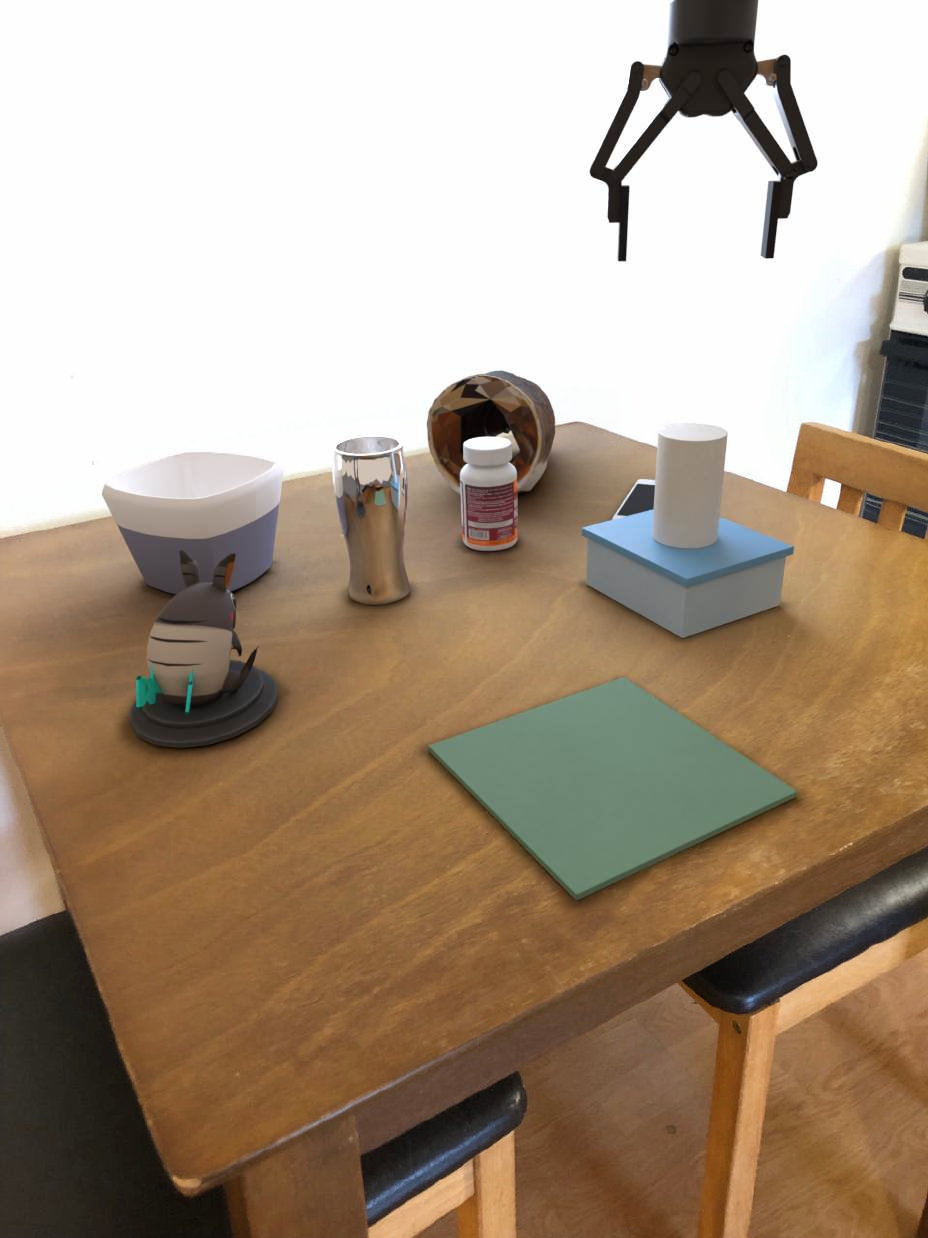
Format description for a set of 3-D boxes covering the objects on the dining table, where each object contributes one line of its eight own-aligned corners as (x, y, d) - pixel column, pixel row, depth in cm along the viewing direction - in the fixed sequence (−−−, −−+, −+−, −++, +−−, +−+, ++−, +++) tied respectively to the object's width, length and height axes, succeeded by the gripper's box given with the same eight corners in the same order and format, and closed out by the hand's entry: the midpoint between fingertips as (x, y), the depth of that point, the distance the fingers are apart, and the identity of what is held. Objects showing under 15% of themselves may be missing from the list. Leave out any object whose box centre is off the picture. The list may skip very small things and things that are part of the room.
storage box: (786, 606, 87) (794, 546, 84) (682, 641, 81) (687, 578, 79) (678, 555, 99) (682, 501, 96) (580, 583, 93) (581, 527, 90)
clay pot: (573, 363, 131) (538, 364, 108) (581, 472, 135) (550, 496, 112) (472, 375, 136) (418, 378, 112) (482, 480, 139) (432, 505, 116)
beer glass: (360, 575, 97) (347, 432, 90) (423, 581, 95) (415, 436, 88) (333, 603, 91) (317, 453, 84) (400, 610, 89) (389, 457, 82)
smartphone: (695, 489, 117) (695, 482, 117) (673, 532, 104) (674, 524, 104) (638, 485, 119) (638, 477, 119) (610, 526, 107) (611, 518, 106)
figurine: (100, 742, 70) (66, 601, 65) (179, 665, 81) (154, 538, 75) (239, 757, 68) (214, 612, 63) (301, 676, 78) (285, 546, 73)
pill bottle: (527, 546, 102) (527, 445, 97) (476, 556, 100) (474, 454, 95) (502, 528, 107) (500, 431, 102) (453, 538, 105) (449, 440, 100)
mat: (796, 797, 62) (797, 791, 61) (576, 901, 54) (576, 894, 54) (623, 681, 76) (623, 676, 75) (428, 751, 68) (428, 745, 68)
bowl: (201, 539, 107) (185, 445, 102) (312, 559, 101) (301, 459, 96) (101, 591, 95) (77, 487, 90) (220, 617, 89) (202, 506, 84)
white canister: (731, 539, 86) (742, 433, 82) (682, 553, 84) (690, 444, 79) (686, 520, 91) (694, 419, 87) (638, 533, 88) (644, 429, 84)
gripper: (854, -9, 82) (820, 251, 91) (567, 6, 84) (563, 256, 94) (878, -22, 75) (838, 259, 84) (566, -6, 78) (561, 265, 87)
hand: (693, 258), depth 89 cm, fingers open, 13 cm apart
